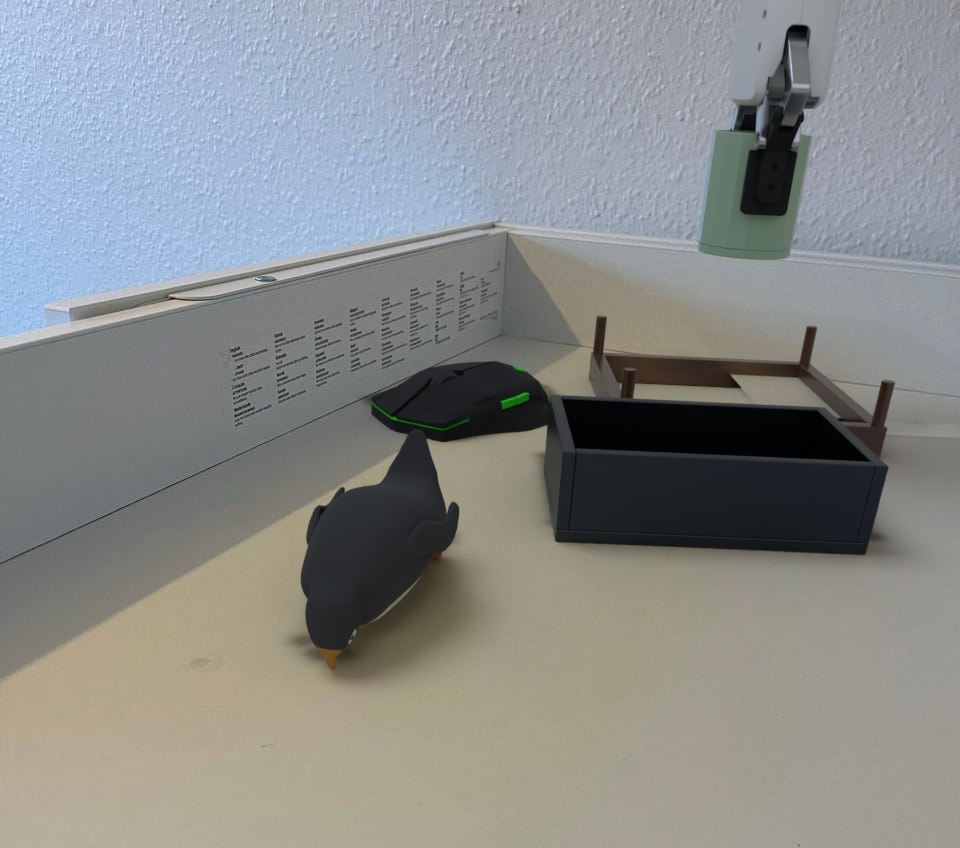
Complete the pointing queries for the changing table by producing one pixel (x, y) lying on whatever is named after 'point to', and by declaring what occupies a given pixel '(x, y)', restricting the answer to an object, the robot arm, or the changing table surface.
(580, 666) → the changing table surface
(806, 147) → the cup
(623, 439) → the black open box
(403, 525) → the figurine
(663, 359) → the frame
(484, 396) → the computer mouse
